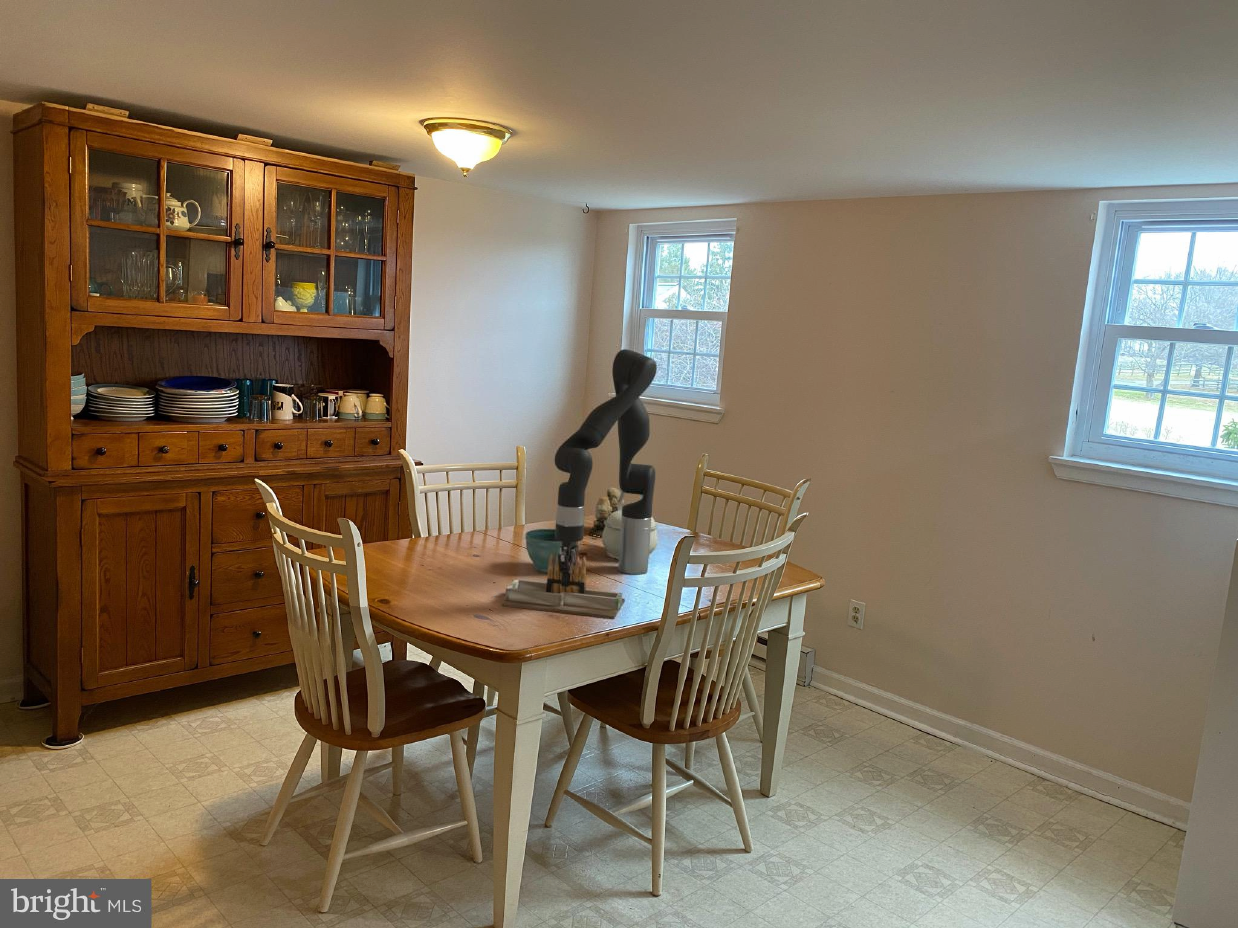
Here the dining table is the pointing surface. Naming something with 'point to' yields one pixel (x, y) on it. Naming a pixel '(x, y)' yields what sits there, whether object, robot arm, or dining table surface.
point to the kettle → (614, 528)
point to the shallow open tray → (562, 600)
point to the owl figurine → (605, 510)
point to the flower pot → (542, 547)
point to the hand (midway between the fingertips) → (566, 584)
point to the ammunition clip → (578, 585)
